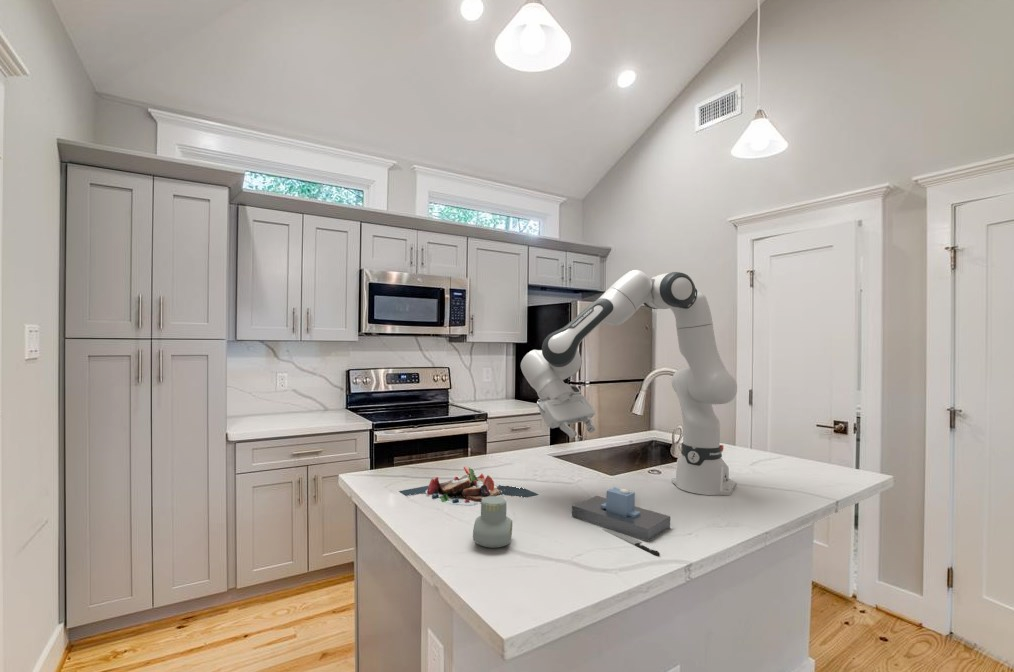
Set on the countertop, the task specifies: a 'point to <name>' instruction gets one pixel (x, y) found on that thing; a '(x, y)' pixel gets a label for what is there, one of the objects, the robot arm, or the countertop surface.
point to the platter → (467, 489)
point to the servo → (620, 502)
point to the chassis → (622, 519)
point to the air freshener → (493, 523)
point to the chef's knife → (632, 541)
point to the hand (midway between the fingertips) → (583, 433)
